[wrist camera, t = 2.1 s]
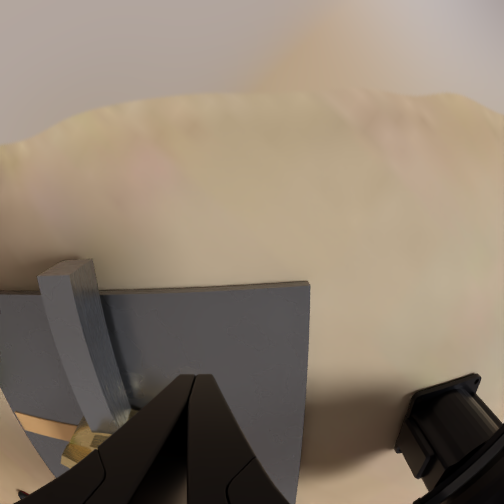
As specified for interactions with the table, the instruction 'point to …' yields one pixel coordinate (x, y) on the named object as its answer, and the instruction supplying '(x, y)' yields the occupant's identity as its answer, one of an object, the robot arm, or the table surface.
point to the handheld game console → (22, 494)
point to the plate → (177, 360)
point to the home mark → (46, 427)
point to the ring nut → (84, 354)
